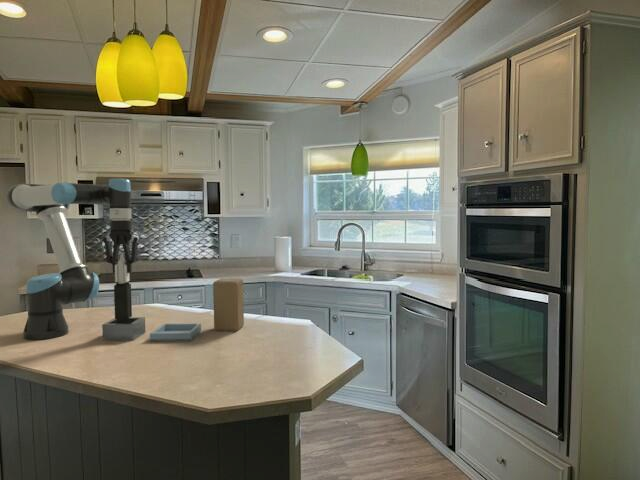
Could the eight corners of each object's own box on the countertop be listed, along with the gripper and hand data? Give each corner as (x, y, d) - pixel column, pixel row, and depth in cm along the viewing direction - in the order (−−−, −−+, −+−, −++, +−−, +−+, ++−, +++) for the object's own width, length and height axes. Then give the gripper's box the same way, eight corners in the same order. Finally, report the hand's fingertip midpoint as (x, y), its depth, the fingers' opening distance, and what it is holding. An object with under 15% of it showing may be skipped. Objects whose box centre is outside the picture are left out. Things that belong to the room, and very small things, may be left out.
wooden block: (244, 325, 191) (243, 278, 190) (237, 331, 181) (236, 281, 180) (221, 325, 192) (220, 277, 191) (213, 331, 182) (212, 281, 181)
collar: (102, 340, 170) (102, 324, 170) (116, 332, 182) (116, 317, 181) (133, 340, 170) (133, 324, 170) (145, 332, 181) (145, 317, 181)
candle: (127, 319, 173) (125, 253, 171) (113, 319, 173) (111, 253, 171) (132, 316, 178) (131, 252, 176) (119, 316, 178) (118, 252, 176)
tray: (150, 341, 168) (149, 333, 168) (164, 330, 183) (163, 323, 183) (190, 341, 168) (190, 333, 168) (201, 330, 183) (201, 323, 183)
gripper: (94, 220, 169) (96, 282, 171) (137, 220, 169) (139, 282, 171) (104, 219, 177) (106, 279, 178) (145, 219, 177) (147, 279, 178)
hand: (122, 281), depth 175 cm, fingers closed on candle, 3 cm apart
